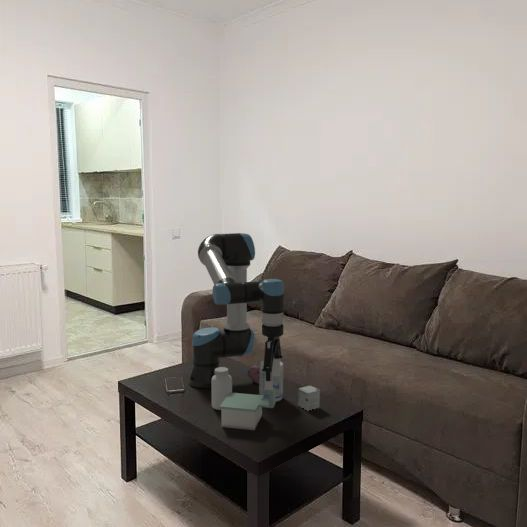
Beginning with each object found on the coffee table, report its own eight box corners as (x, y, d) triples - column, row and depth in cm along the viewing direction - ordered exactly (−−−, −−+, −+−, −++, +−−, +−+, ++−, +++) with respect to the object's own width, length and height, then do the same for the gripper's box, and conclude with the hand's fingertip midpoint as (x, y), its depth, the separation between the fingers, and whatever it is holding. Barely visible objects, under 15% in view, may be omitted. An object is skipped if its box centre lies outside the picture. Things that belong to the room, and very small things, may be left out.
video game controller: (257, 379, 235) (251, 365, 235) (266, 375, 233) (260, 361, 233) (251, 386, 225) (244, 372, 225) (260, 383, 224) (253, 368, 224)
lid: (229, 396, 195) (229, 379, 194) (277, 401, 191) (277, 383, 190) (219, 411, 182) (219, 392, 181) (270, 416, 178) (270, 396, 177)
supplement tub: (263, 404, 203) (263, 368, 201) (256, 395, 212) (256, 360, 210) (286, 401, 206) (286, 365, 204) (278, 392, 215) (278, 358, 213)
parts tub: (230, 412, 195) (230, 395, 194) (261, 415, 192) (262, 397, 191) (221, 426, 183) (221, 408, 182) (254, 430, 181) (254, 411, 180)
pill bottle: (212, 411, 196) (211, 373, 194) (211, 402, 204) (210, 366, 202) (233, 410, 197) (233, 372, 195) (231, 401, 205) (231, 365, 203)
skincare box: (297, 406, 201) (298, 388, 200) (309, 402, 205) (310, 384, 204) (307, 411, 196) (308, 393, 195) (320, 407, 200) (320, 389, 199)
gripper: (276, 333, 167) (276, 396, 170) (289, 316, 192) (288, 371, 194) (253, 332, 169) (254, 394, 172) (269, 315, 193) (269, 370, 196)
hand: (272, 382), depth 183 cm, fingers open, 13 cm apart
